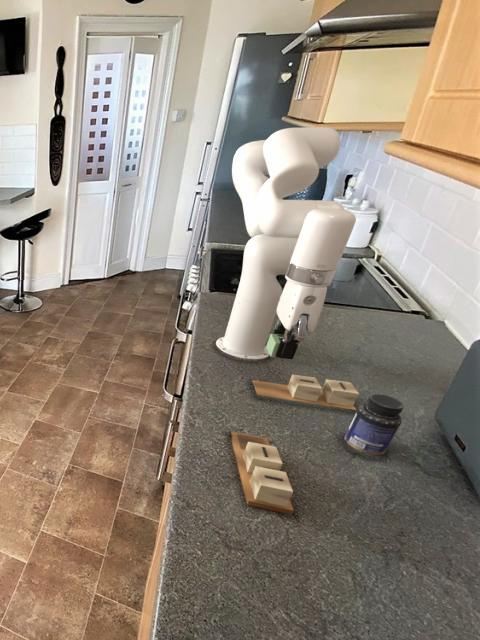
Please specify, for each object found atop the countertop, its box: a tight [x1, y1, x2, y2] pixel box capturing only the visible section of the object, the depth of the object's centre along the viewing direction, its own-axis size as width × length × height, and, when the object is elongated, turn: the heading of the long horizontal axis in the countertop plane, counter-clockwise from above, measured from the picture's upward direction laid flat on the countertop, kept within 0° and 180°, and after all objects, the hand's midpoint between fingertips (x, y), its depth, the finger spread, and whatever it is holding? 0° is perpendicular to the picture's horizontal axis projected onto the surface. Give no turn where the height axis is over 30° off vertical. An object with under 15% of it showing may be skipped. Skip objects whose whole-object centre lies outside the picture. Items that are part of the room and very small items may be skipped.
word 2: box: [251, 374, 360, 411], centre depth 96 cm, size 6×18×5 cm, turn 70°
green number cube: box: [265, 333, 301, 361], centre depth 94 cm, size 4×4×4 cm
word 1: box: [229, 431, 295, 516], centre depth 78 cm, size 18×6×5 cm, turn 160°
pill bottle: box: [344, 393, 405, 456], centre depth 80 cm, size 6×6×11 cm
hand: (280, 351), depth 95 cm, fingers closed on green number cube, 4 cm apart
